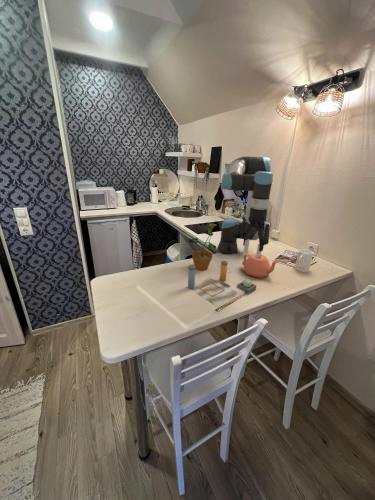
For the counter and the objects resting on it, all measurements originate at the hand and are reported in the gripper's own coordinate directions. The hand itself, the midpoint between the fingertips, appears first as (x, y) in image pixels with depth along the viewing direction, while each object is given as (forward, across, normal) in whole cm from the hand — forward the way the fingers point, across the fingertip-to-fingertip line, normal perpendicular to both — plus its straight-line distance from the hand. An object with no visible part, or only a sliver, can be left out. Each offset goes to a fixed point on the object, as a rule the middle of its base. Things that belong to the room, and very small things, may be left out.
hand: (251, 254), depth 109 cm
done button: (+18, 0, 0) cm, 18 cm away
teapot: (+20, -6, +20) cm, 29 cm away
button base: (+20, 0, 0) cm, 20 cm away
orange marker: (+20, -13, -4) cm, 24 cm away
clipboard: (+20, -9, -16) cm, 27 cm away
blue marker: (+19, -18, -23) cm, 35 cm away
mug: (+20, +8, +46) cm, 51 cm away
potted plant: (+20, -31, -3) cm, 37 cm away
